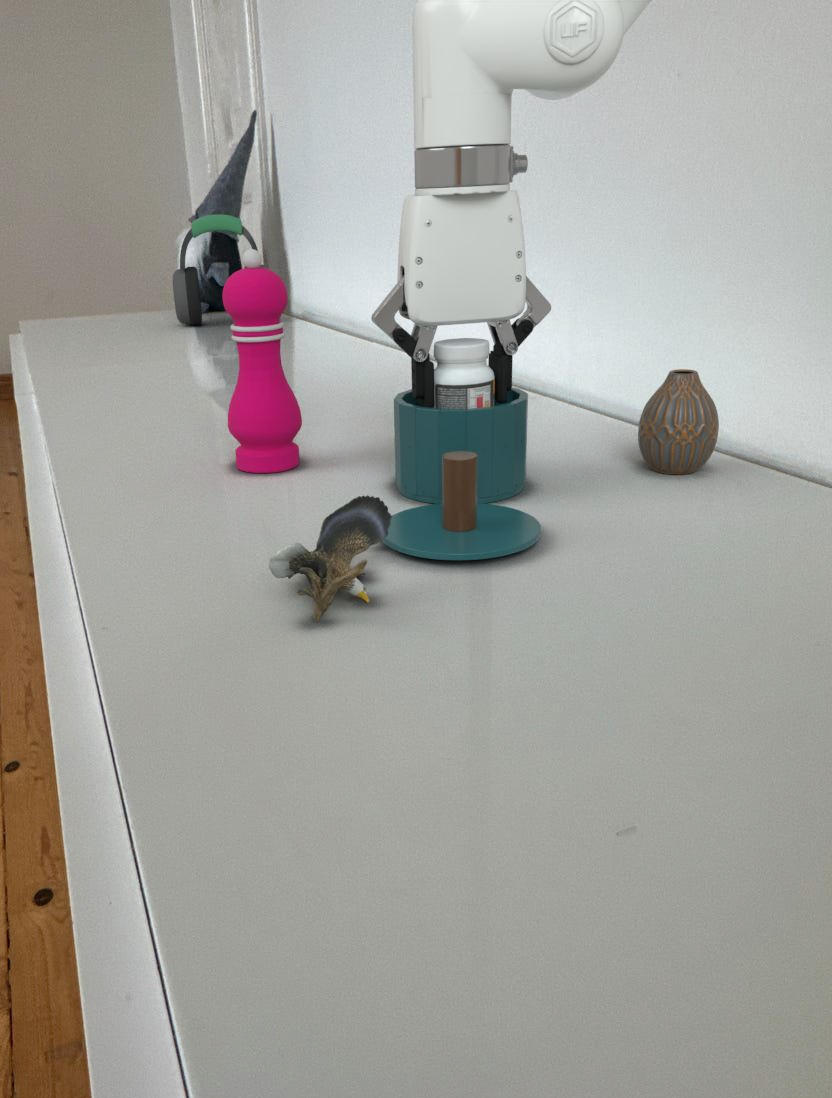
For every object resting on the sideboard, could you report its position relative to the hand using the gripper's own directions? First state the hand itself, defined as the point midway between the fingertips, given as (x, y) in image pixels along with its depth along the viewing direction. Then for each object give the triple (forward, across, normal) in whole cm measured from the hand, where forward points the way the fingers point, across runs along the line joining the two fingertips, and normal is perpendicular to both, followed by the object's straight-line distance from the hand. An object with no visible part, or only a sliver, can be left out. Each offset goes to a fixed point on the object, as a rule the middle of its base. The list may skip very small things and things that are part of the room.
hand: (461, 401), depth 86 cm
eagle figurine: (+8, +15, +23) cm, 29 cm away
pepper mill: (+8, +16, -13) cm, 22 cm away
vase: (+8, -20, +1) cm, 21 cm away
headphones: (+8, +13, -125) cm, 126 cm away
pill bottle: (+5, 0, 0) cm, 5 cm away
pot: (+8, 0, 0) cm, 8 cm away
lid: (+7, +4, +14) cm, 16 cm away
